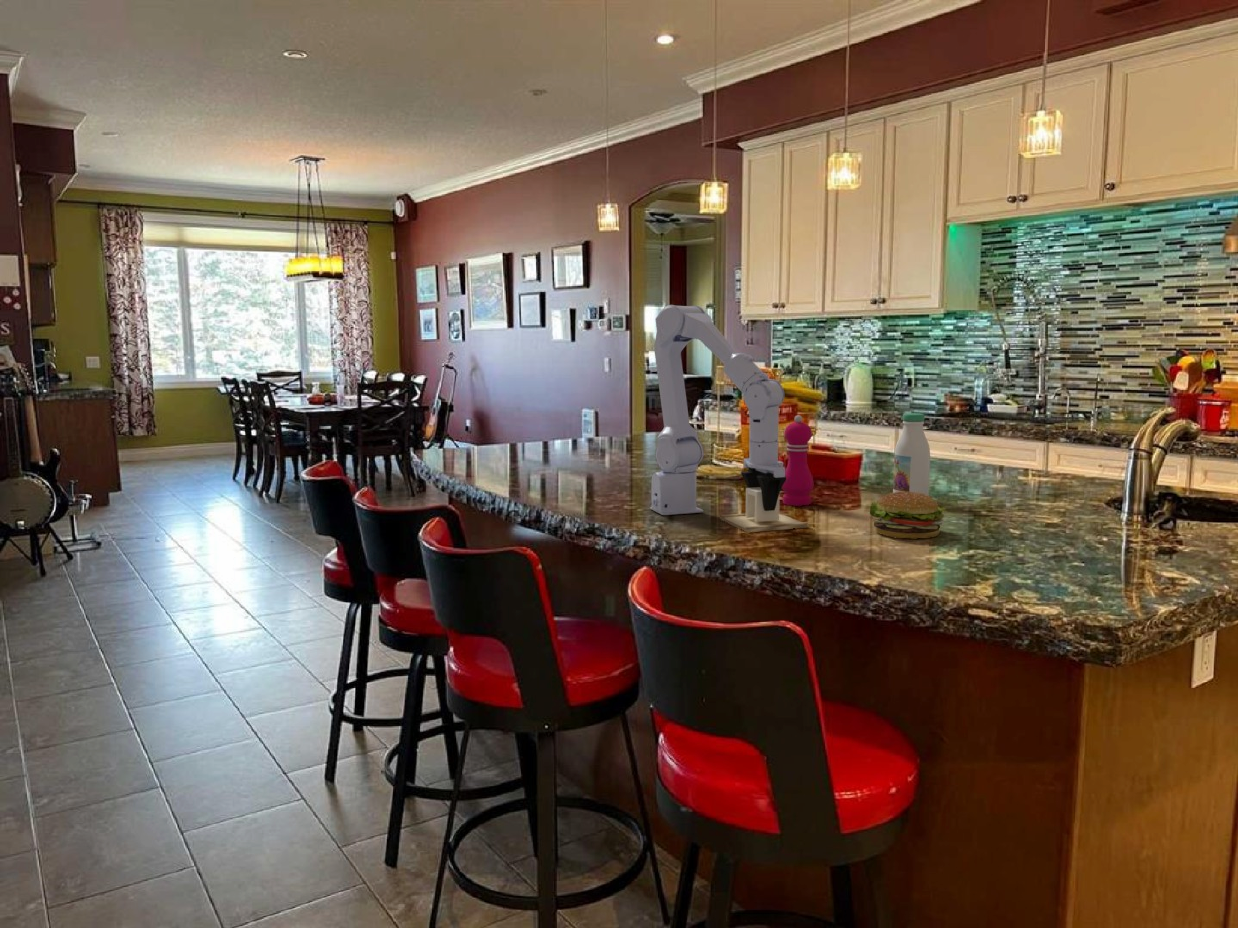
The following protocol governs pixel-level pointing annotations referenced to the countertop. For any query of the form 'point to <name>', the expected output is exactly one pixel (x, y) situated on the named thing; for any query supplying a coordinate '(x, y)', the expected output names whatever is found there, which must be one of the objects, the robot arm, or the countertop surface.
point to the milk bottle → (912, 457)
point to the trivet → (762, 523)
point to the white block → (759, 506)
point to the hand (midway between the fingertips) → (763, 507)
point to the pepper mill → (797, 464)
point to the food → (907, 515)
